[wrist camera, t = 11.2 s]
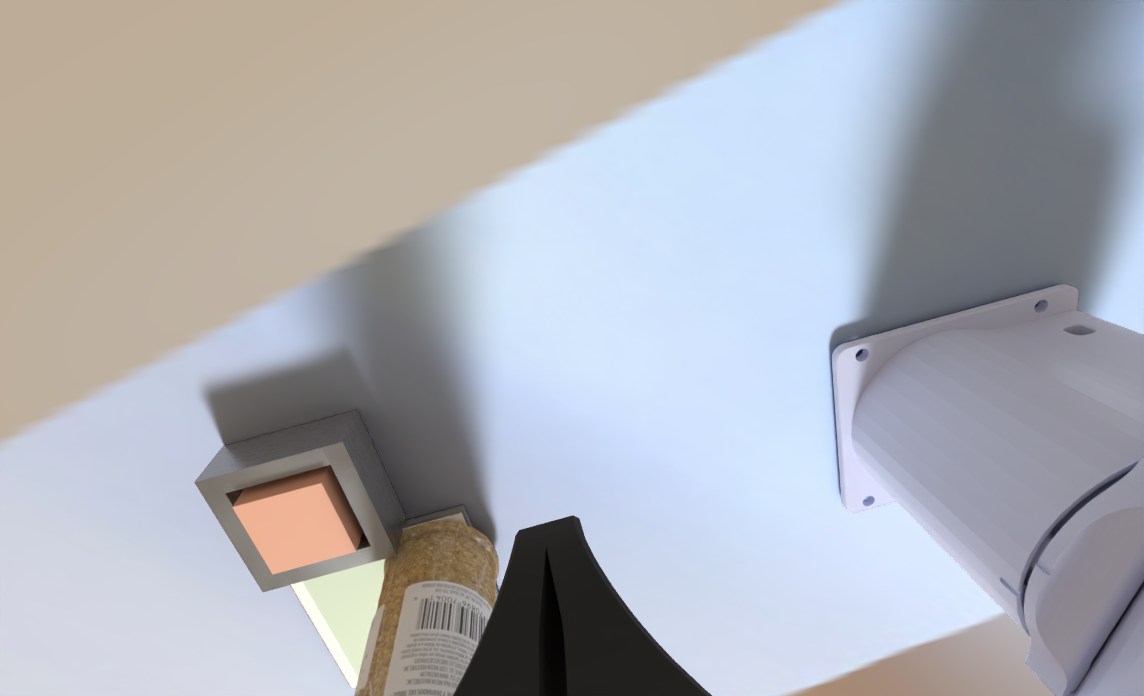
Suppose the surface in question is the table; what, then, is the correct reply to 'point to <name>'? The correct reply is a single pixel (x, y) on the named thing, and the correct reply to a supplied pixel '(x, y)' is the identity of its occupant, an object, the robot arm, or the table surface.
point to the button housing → (299, 452)
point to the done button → (299, 519)
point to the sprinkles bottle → (430, 611)
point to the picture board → (354, 602)
